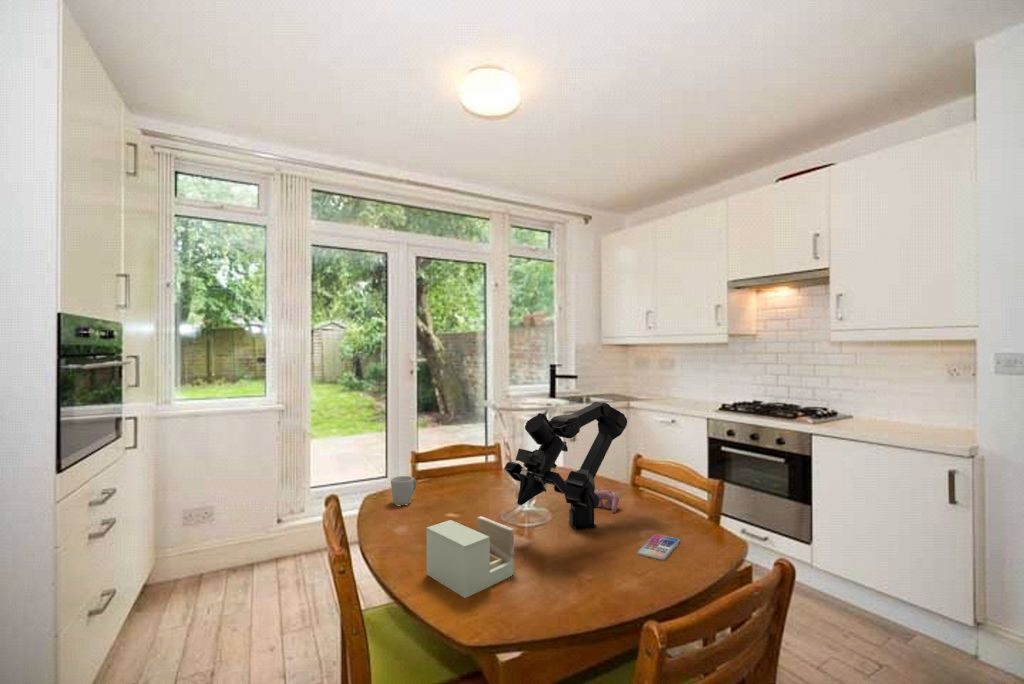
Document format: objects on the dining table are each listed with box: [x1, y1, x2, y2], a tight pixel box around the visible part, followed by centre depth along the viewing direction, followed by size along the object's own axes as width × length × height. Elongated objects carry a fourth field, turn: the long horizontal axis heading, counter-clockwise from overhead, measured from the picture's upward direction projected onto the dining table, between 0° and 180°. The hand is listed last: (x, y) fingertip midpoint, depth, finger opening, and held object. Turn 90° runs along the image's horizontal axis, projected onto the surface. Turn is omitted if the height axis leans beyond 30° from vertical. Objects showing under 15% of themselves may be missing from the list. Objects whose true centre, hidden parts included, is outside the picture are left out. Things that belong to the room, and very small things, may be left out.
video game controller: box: [594, 489, 620, 514], centre depth 153 cm, size 10×5×7 cm, turn 59°
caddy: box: [426, 519, 515, 599], centre depth 109 cm, size 14×15×11 cm
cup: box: [390, 475, 417, 506], centre depth 161 cm, size 8×10×8 cm
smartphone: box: [636, 533, 681, 562], centre depth 123 cm, size 7×1×15 cm
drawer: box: [477, 515, 515, 572], centre depth 110 cm, size 14×12×10 cm
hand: (518, 504), depth 120 cm, fingers closed
